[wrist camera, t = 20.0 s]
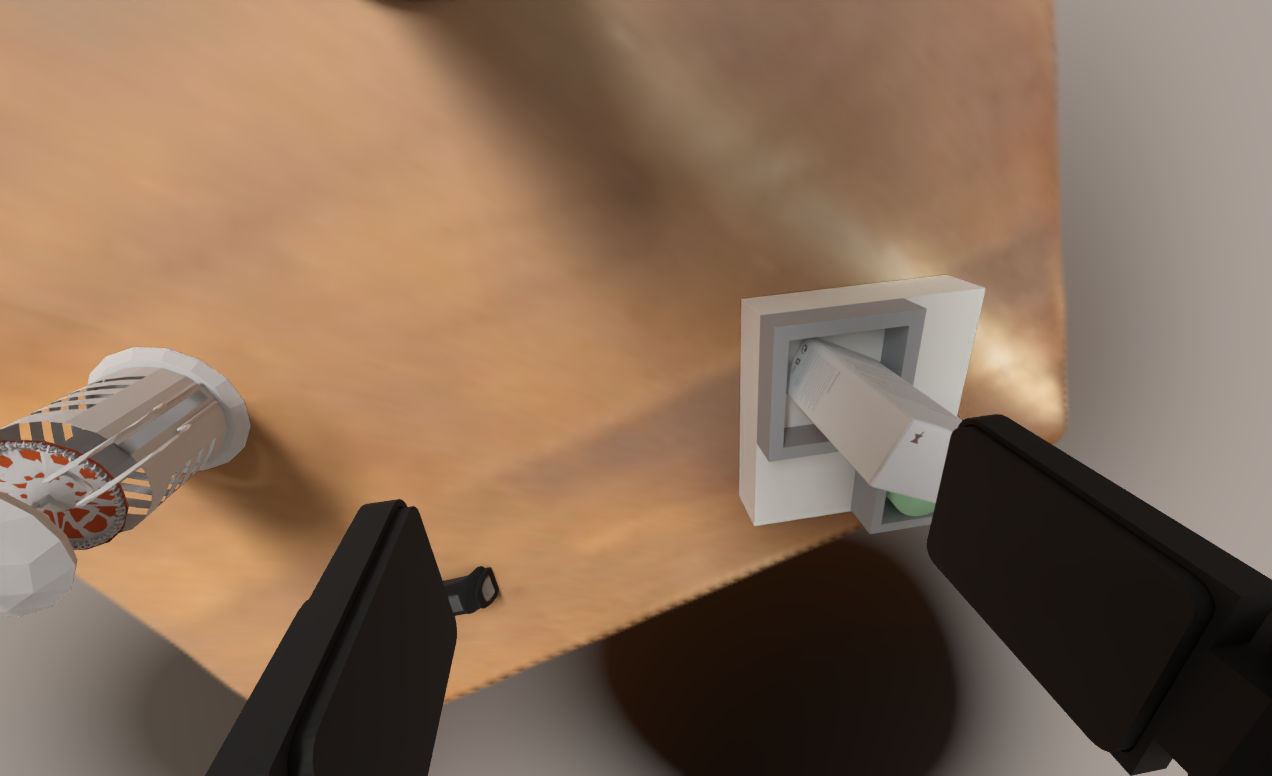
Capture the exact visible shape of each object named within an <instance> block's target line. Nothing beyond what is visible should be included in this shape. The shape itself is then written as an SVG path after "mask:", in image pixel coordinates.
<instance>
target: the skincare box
mask: <svg viewBox="0 0 1272 776" xmlns="http://www.w3.org/2000/svg"><path fill="white" fill-rule="evenodd" d="M786 393H787V394H788V395H789V396H790V397H791V399H792V400H793V401H794V402H795V403H796V404H797V405H798V406H799V408H800V409H801V410H802V411H803V412H804V413H805V414H806V415H807V417H808V418H809V419H810V420H811V421H812V422H813V423H814V424H815V425H816V427H817V428H818V429H819V430H820V431H821V432H822V433H823V434H824V435H825V436H826V438H827V439H828V440H829V441H830V442H831V443H832V444H833V445H834V446H835V448H836V449H837V450H838V451H839V452H840V453H841V454H842V455H843V456H844V457H845V459H846V460H847V461H848V462H849V463H850V464H851V465H852V466H853V467H854V469H855V470H856V471H857V472H858V473H859V474H860V475H861V476H862V477H863V479H864V480H865V481H866V482H867V483H868V484H869V485H870V486H871V487H875V488H878V489H882V490H886V491H889V492H893V493H897V494H900V495H904V496H908V497H912V498H916V499H920V500H924V501H927V502H931V503H935V504H936V499H937V495H938V490H939V486H940V481H941V477H942V472H943V468H944V464H945V459H946V455H947V450H948V446H949V441H950V437H951V434H952V432H953V431H954V430H955V429H957V428H958V426H959V424H960V423H961V422H962V420H961V419H960V418H958V417H957V416H955V415H954V414H952V413H951V412H950V411H948V410H947V409H945V408H944V407H942V406H941V405H940V404H938V403H937V402H935V401H934V400H932V399H931V398H930V397H928V396H927V395H925V394H924V393H922V392H921V391H919V390H918V389H917V388H915V387H914V386H912V385H911V384H909V383H908V382H907V381H905V380H904V379H902V378H901V377H900V376H898V375H897V374H895V373H894V372H892V371H891V370H890V369H888V368H887V367H885V366H884V365H883V364H881V363H880V362H878V361H877V360H875V359H874V358H871V357H869V356H866V355H863V354H861V353H858V352H855V351H852V350H850V349H847V348H844V347H842V346H839V345H836V344H833V343H831V342H828V341H825V340H822V339H820V338H817V337H814V338H806V339H804V340H803V342H802V343H801V345H800V347H799V349H798V351H797V353H796V355H795V357H794V358H793V360H792V362H791V364H790V366H789V368H788V370H787V388H786Z"/></svg>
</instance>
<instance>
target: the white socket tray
mask: <svg viewBox="0 0 1272 776" xmlns="http://www.w3.org/2000/svg"><path fill="white" fill-rule="evenodd" d="M985 289H986V288H984V287H981V286H978V285H975V284H972V283H970V282H967V281H964V280H961V279H958V278H955V277H952V276H949V275H940V276H931V277H923V278H914V279H906V280H897V281H889V282H880V283H872V284H863V285H855V286H846V287H838V288H829V289H821V290H812V291H804V292H795V293H787V294H778V295H770V296H761V297H753V298H744V299H741V375H740V467H739V497H740V499H741V501H742V503H743V505H744V507H745V509H746V511H747V513H748V514H749V516H750V518H751V520H752V522H753V524H754V526H759V525H765V524H772V523H778V522H784V521H791V520H797V519H804V518H810V517H817V516H823V515H830V514H836V513H842V512H849V511H852V512H853V513H854V515H855V516H856V517H857V518H858V520H859V521H860V522H861V524H862V525H863V526H864V527H865V529H866V530H867V531H868V532H869V533H870V534H874V533H880V532H887V531H893V530H899V529H906V528H912V527H918V526H924V525H931V522H932V517H933V513H934V512H931V513H929V514H926V515H922V516H909V515H906V514H903V513H902V512H900V511H899V510H898V509H897V508H896V507H895V505H894V504H893V503H892V502H891V501H890V500H889V499H888V498H887V497H886V493H887V491H886V490H882V489H878V488H875V487H871V486H870V485H869V484H868V483H867V482H866V481H865V480H864V479H863V477H862V476H861V475H860V474H859V473H858V472H857V471H856V470H855V469H854V467H853V466H852V465H851V464H850V463H849V462H848V461H847V460H846V459H845V457H844V456H843V455H842V454H841V453H840V452H839V451H838V450H837V449H836V448H835V446H834V445H833V444H832V443H831V442H830V441H829V440H828V439H827V438H826V436H825V435H824V434H823V433H822V432H821V431H820V430H819V429H818V428H817V427H816V425H815V424H814V423H813V422H812V421H811V420H810V419H809V418H808V417H807V415H806V414H805V413H804V412H803V411H802V410H801V409H800V408H799V406H798V405H797V404H796V403H795V402H794V401H793V400H792V399H791V397H790V396H789V395H788V394H787V393H786V388H787V370H788V368H789V366H790V364H791V362H792V360H793V358H794V357H795V355H796V353H797V351H798V349H799V347H800V345H801V343H802V342H803V340H804V339H806V338H814V337H817V338H820V339H822V340H825V341H828V342H831V343H833V344H836V345H839V346H842V347H844V348H847V349H850V350H852V351H855V352H858V353H861V354H863V355H866V356H869V357H871V358H874V359H875V360H877V361H878V362H880V363H881V364H883V365H884V366H885V367H887V368H888V369H890V370H891V371H892V372H894V373H895V374H897V375H898V376H900V377H901V378H902V379H904V380H905V381H907V382H908V383H909V384H911V385H912V386H914V387H915V388H917V389H918V390H919V391H921V392H922V393H924V394H925V395H927V396H928V397H930V398H931V399H932V400H934V401H935V402H937V403H938V404H940V405H941V406H942V407H944V408H945V409H947V410H948V411H950V412H951V413H952V414H954V415H955V416H957V413H958V409H959V405H960V400H961V396H962V391H963V387H964V382H965V378H966V374H967V369H968V365H969V360H970V356H971V351H972V347H973V343H974V338H975V334H976V329H977V325H978V320H979V316H980V312H981V307H982V303H983V298H984V294H985Z"/></svg>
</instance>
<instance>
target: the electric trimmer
mask: <svg viewBox="0 0 1272 776" xmlns="http://www.w3.org/2000/svg"><path fill="white" fill-rule="evenodd" d="M443 584H444V587H445V590H446V593H447V596H448V599H449V602H450V605H451V607H452V610H453V613H454V616H456V615H461V614H471V613H473V612H475V611H477V610H478V609H480V608H486V607H487V606H489V605H490V604H491V603H492V602H493V601H494V599H495V598H496V597H497V595H498V591H499V588H498V585H497V582H496V580H495V577H494V574H493V572H492V569H491V568H484V567H482V566H480V567H477V568H476V569H475V570H474V571H473V572H472V573H471V574H470V575H469V576H465V577H461V578H456V579H452V580H447V581H443Z"/></svg>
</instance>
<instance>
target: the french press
mask: <svg viewBox="0 0 1272 776" xmlns="http://www.w3.org/2000/svg"><path fill="white" fill-rule="evenodd" d="M82 389H86V391H85V392H79V391H80V390H82ZM79 396H85V399H82V400H78V397H79ZM65 398H69V400H68V401H66V402H61V400H62V399H65ZM82 404H86V409H78V405H82ZM62 406H68V410H60V408H61V407H62ZM46 408H50V409H49V410H50V412H45V413H41V410H43V409H46ZM41 421H47V422H51V427H52V433H53V438H54V443H55V444H53V443H49V442H46V441H45V440H44V436H43V429H42V423H41ZM27 422H30V429H31V435H32V440H21V437H20V431H19V423H27ZM62 423H65V424H69V425H71V429H72V433H73V437H71V438H69V439H68V440H66V441H65V437H64V432H63V427H62ZM250 427H251V425H250V421H249V417H248V412H247V408H246V404H245V402H244V400H243V399H242V398H241V396H240V395H239V394H238V392H237V391H236V390H235V388H234V387H233V386H232V384H231V383H230V382H229V380H228V379H227V378H225V377H224V376H222V375H221V374H220V373H218V372H217V371H215V370H214V369H212V368H211V367H210V366H208V365H207V364H205V363H204V362H202V361H201V360H199V359H196V358H193V357H190V356H187V355H185V354H182V353H179V352H176V351H173V350H170V349H167V348H144V347H133V348H130V349H127V350H124V351H121V352H118V353H115V354H112V355H109V356H106V357H105V358H104V359H103V360H102V361H101V363H100V364H99V365H98V366H97V367H96V368H95V369H94V370H93V371H92V372H91V373H90V374H89V381H88V385H87V386H85V387H82V388H80V389H78V390H76V391H74V392H72V393H70V395H68V396H65V397H63V398H60V399H58V400H56V401H55V402H53V403H51V405H49V406H46V407H43V408H40V409H38V410H37V411H35V412H33V413H31V415H30V416H27V417H24V418H22V419H19V420H17V421H15V422H13V423H11V424H9V425H7V426H5V427H3V428H2V429H0V617H11V616H24V615H27V614H31V613H34V612H37V611H40V610H43V609H46V608H49V607H52V606H53V605H55V604H56V603H57V602H58V601H59V600H60V599H61V598H62V597H63V596H64V595H66V594H67V593H68V592H69V591H70V590H71V588H72V584H73V580H74V575H75V570H76V564H77V558H76V555H75V553H74V551H73V550H87V549H90V548H93V547H95V546H98V545H101V544H104V543H107V542H110V541H111V540H112V539H113V538H114V537H115V536H116V535H117V534H118V533H120V532H124V531H127V530H131V529H133V528H134V527H135V526H137V525H138V524H139V523H140V522H141V521H142V520H143V519H145V518H146V517H147V516H148V515H149V514H150V513H152V512H153V511H154V510H155V509H156V508H157V507H158V506H159V505H160V504H162V503H163V502H164V501H165V500H166V499H167V498H168V497H169V496H170V495H171V494H173V493H174V492H175V491H176V490H177V489H178V488H179V487H181V486H182V485H183V484H184V483H185V482H186V481H187V480H188V479H189V478H190V477H189V475H190V473H193V474H192V475H191V477H192V476H193V475H194V474H195V473H196V472H197V471H204V470H207V469H210V468H213V467H216V466H219V465H222V464H225V463H228V462H230V461H231V460H232V459H233V458H234V457H235V456H236V455H237V454H238V453H239V452H240V451H241V450H242V449H243V448H244V447H245V445H246V442H247V438H248V434H249V431H250ZM82 429H84V430H83V431H82ZM141 467H142V468H143V470H144V471H145V473H140V472H135V471H136V470H138V469H139V468H141ZM175 472H176V473H177V475H176V478H174V477H171V476H172V475H173V474H174V473H175ZM183 473H186V475H185V477H184V478H181V476H182V474H183ZM188 477H189V478H188ZM126 478H132V479H138V480H145V481H149V484H150V486H151V487H146V486H139V485H132V484H126V483H121V482H122V481H123V480H124V479H126ZM169 484H173V485H172V487H171V489H170V490H168V489H167V488H168V485H169ZM177 484H180V485H179V487H178V488H177V489H175V488H176V486H177ZM123 491H128V492H135V493H142V494H148V495H152V501H146V500H139V499H132V498H126V497H125V494H124V492H123ZM163 496H166V498H165V500H164V501H163V502H161V500H162V498H163ZM129 506H131V507H137V508H149V510H148V512H147V514H146V515H136V514H127V512H128V507H129Z"/></svg>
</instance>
